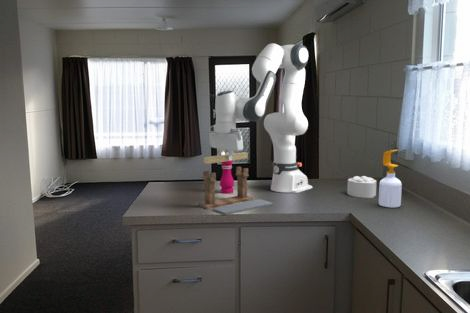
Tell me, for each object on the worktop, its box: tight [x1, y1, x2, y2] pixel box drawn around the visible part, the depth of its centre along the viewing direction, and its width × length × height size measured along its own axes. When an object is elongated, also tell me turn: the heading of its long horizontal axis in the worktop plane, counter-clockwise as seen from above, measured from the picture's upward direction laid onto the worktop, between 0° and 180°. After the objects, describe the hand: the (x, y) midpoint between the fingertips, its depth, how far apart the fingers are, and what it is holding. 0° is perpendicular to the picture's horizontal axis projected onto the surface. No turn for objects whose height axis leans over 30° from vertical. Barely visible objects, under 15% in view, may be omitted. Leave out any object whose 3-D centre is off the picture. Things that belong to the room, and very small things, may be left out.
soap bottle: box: [378, 149, 403, 209], centre depth 188 cm, size 9×9×25 cm
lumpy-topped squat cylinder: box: [346, 175, 377, 199], centre depth 209 cm, size 10×13×9 cm
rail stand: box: [198, 166, 254, 210], centre depth 194 cm, size 25×7×15 cm, turn 128°
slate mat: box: [212, 198, 274, 216], centre depth 187 cm, size 26×9×1 cm, turn 128°
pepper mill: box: [219, 151, 235, 195], centre depth 215 cm, size 7×7×20 cm
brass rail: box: [203, 151, 249, 165], centre depth 192 cm, size 22×3×2 cm, turn 128°
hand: (226, 159), depth 192 cm, fingers closed on brass rail, 3 cm apart
